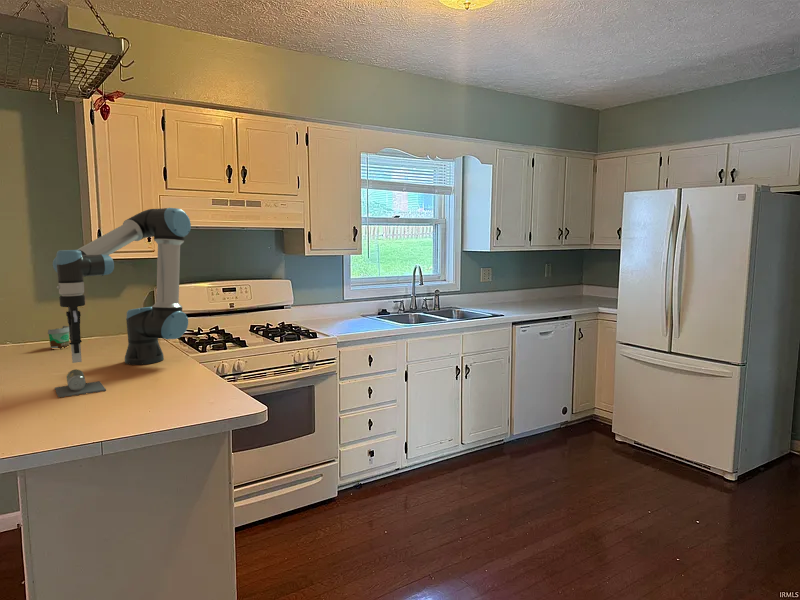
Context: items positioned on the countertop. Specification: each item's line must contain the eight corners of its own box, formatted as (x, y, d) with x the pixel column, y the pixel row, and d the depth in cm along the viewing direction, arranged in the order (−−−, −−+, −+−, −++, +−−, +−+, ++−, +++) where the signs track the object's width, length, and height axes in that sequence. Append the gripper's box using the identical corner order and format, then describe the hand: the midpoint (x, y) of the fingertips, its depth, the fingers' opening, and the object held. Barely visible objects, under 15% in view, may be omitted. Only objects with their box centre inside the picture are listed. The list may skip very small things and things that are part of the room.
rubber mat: (54, 389, 195) (54, 387, 195) (99, 382, 203) (99, 381, 203) (58, 398, 184) (58, 396, 184) (105, 391, 192) (105, 389, 192)
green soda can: (86, 371, 201) (88, 378, 191) (79, 385, 200) (81, 393, 190) (70, 366, 198) (72, 373, 188) (63, 381, 198) (64, 388, 188)
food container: (61, 350, 264) (60, 329, 263) (49, 350, 264) (47, 329, 263) (77, 345, 276) (75, 325, 275) (65, 345, 276) (63, 325, 275)
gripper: (57, 294, 195) (62, 360, 198) (61, 297, 185) (66, 366, 187) (81, 292, 200) (86, 357, 202) (86, 295, 189) (91, 363, 192)
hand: (77, 361), depth 195 cm, fingers closed
